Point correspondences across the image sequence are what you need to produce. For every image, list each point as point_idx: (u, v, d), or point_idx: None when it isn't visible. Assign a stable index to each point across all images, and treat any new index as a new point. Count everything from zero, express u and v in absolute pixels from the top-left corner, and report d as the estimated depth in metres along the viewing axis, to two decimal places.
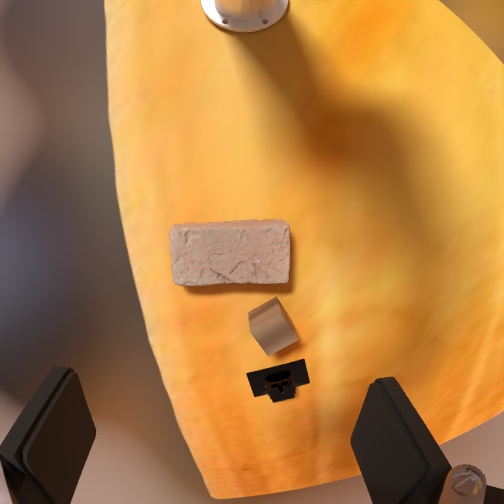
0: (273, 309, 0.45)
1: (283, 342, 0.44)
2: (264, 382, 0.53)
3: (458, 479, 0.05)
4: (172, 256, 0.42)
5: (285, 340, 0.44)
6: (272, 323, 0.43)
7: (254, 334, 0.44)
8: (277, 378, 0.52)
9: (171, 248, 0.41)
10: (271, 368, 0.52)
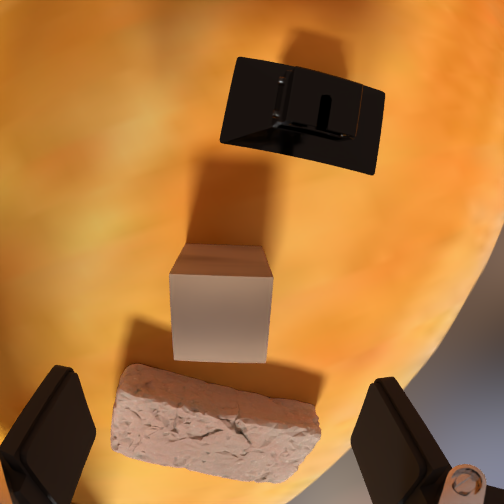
0: None
1: (209, 291, 0.15)
2: None
3: (458, 479, 0.05)
4: (298, 464, 0.22)
5: (201, 294, 0.15)
6: (206, 353, 0.16)
7: (261, 352, 0.17)
8: None
9: (293, 472, 0.23)
10: (312, 156, 0.20)
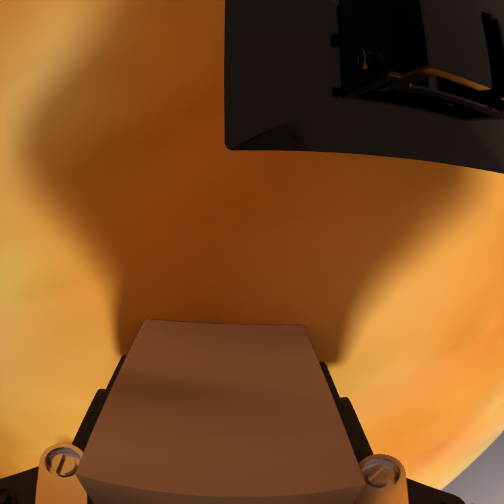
0: None
1: None
2: None
3: (370, 471, 0.05)
4: None
5: None
6: None
7: None
8: None
9: None
10: (424, 153, 0.08)
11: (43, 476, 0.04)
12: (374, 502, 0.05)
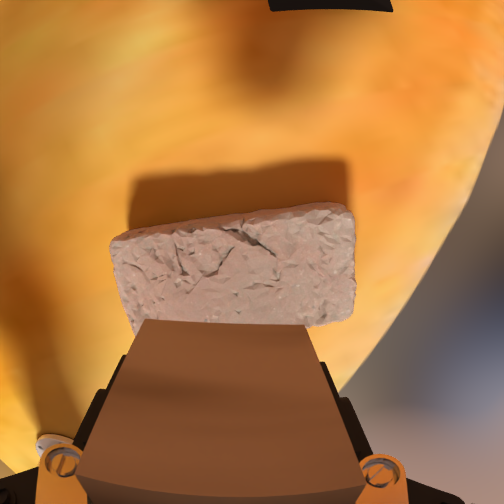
0: None
1: None
2: None
3: (370, 471, 0.05)
4: (352, 273, 0.21)
5: None
6: None
7: None
8: None
9: (353, 289, 0.21)
10: (346, 6, 0.18)
11: (43, 476, 0.04)
12: (374, 502, 0.05)
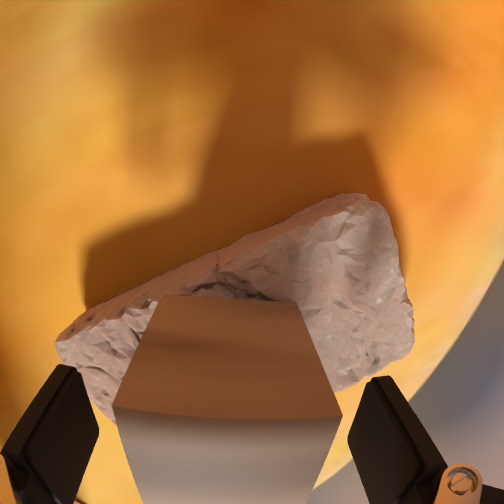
0: None
1: (200, 440, 0.06)
2: None
3: (454, 478, 0.05)
4: (404, 293, 0.13)
5: (185, 443, 0.06)
6: None
7: None
8: None
9: (410, 315, 0.13)
10: None
11: None
12: None
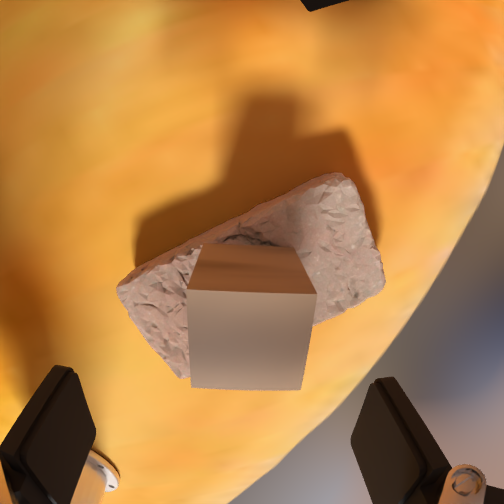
0: None
1: (236, 311, 0.12)
2: None
3: (458, 479, 0.05)
4: (371, 241, 0.18)
5: (227, 314, 0.12)
6: (230, 381, 0.13)
7: (296, 379, 0.13)
8: None
9: (378, 258, 0.19)
10: None
11: None
12: None
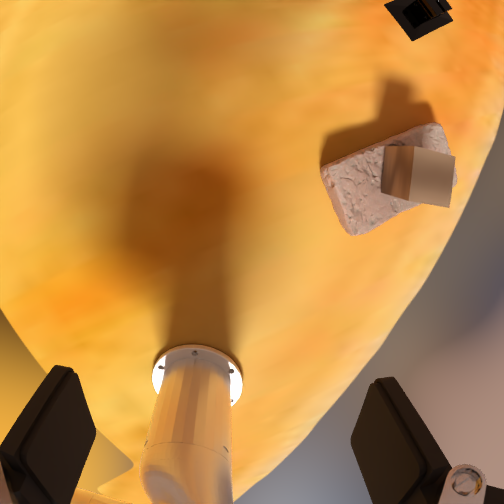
0: None
1: (430, 159, 0.25)
2: None
3: (458, 479, 0.05)
4: None
5: (427, 160, 0.25)
6: (424, 197, 0.26)
7: (448, 200, 0.26)
8: None
9: None
10: (436, 27, 0.29)
11: None
12: None
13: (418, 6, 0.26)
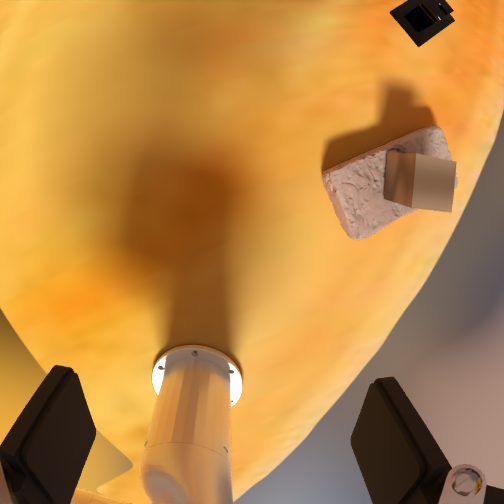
0: None
1: (432, 165, 0.25)
2: None
3: (458, 479, 0.05)
4: (451, 159, 0.31)
5: (429, 166, 0.25)
6: (427, 203, 0.26)
7: (450, 205, 0.26)
8: None
9: None
10: (439, 29, 0.29)
11: None
12: None
13: (421, 11, 0.27)
